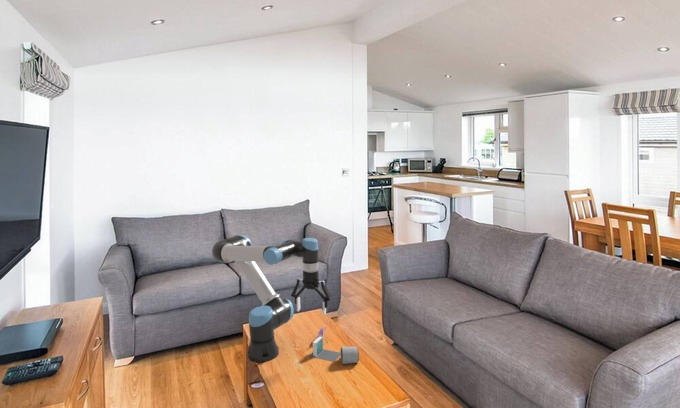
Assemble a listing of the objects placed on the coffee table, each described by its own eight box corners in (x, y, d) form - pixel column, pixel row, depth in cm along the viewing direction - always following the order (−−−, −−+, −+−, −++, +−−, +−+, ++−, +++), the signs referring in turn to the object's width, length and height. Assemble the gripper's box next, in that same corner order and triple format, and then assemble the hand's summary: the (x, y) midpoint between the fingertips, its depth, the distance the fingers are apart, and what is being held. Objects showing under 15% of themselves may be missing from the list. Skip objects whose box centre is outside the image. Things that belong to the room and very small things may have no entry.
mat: (308, 357, 206) (308, 356, 206) (317, 348, 214) (317, 348, 214) (334, 362, 200) (334, 361, 200) (342, 353, 208) (342, 353, 208)
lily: (330, 337, 228) (320, 322, 229) (340, 337, 219) (330, 320, 219) (313, 351, 222) (303, 335, 222) (322, 351, 212) (312, 334, 212)
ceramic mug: (360, 365, 197) (359, 349, 196) (342, 367, 195) (342, 351, 195) (355, 354, 207) (355, 339, 206) (339, 356, 206) (338, 341, 205)
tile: (313, 356, 206) (312, 342, 205) (320, 349, 212) (319, 336, 211) (316, 356, 205) (315, 343, 204) (323, 350, 212) (322, 337, 211)
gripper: (283, 270, 204) (284, 312, 208) (332, 275, 197) (333, 318, 200) (290, 265, 212) (291, 306, 215) (337, 270, 204) (338, 311, 207)
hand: (311, 312), depth 208 cm, fingers open, 13 cm apart
